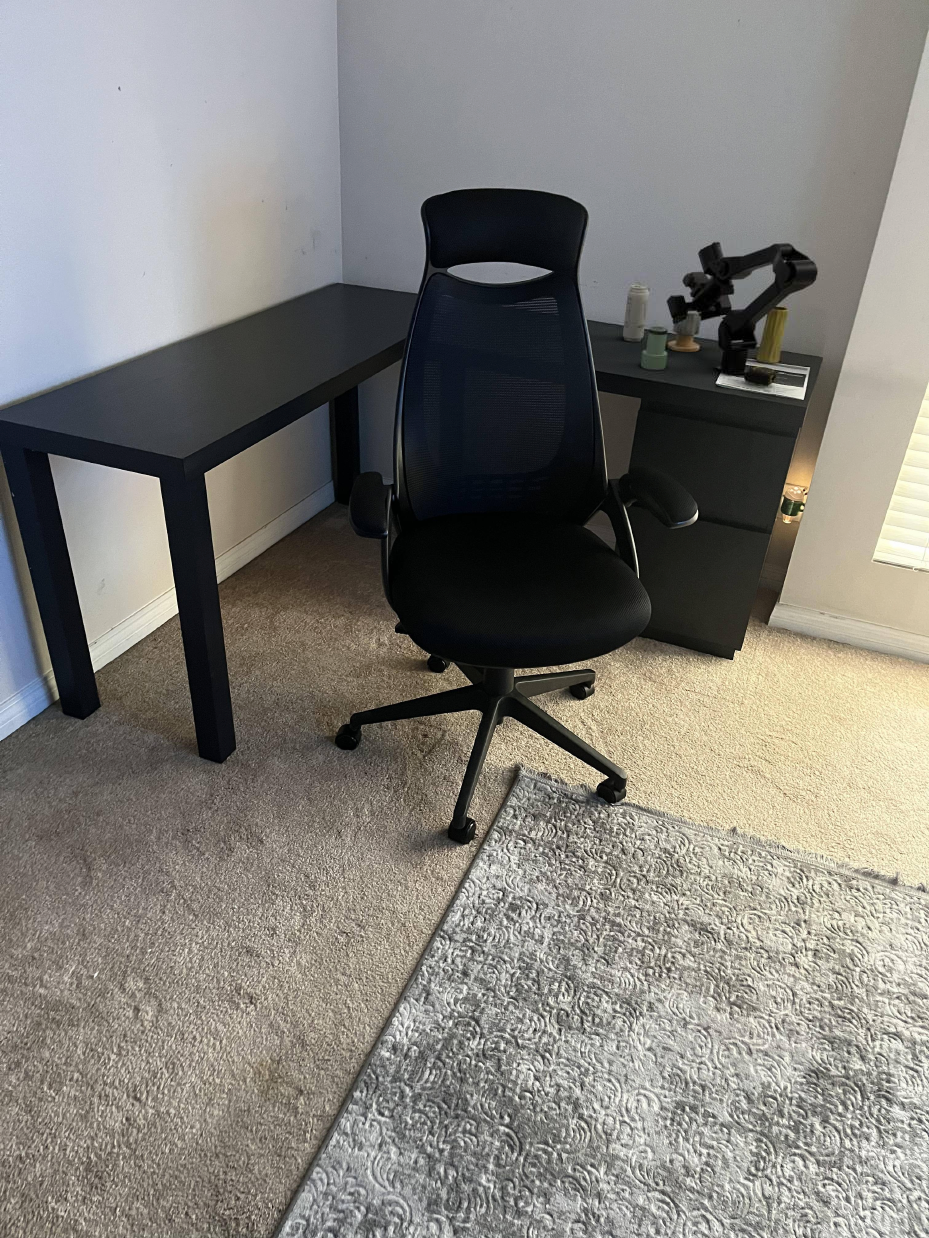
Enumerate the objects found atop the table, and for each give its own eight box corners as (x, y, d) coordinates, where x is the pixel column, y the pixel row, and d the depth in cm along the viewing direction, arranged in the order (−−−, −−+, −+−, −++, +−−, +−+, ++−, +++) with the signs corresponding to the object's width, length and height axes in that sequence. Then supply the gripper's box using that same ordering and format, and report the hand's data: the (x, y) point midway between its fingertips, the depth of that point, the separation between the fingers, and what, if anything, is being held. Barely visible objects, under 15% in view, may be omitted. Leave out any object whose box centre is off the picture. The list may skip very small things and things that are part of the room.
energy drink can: (641, 343, 258) (648, 289, 250) (620, 340, 260) (627, 287, 252) (644, 338, 263) (651, 285, 255) (624, 335, 264) (630, 283, 256)
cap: (703, 334, 251) (707, 312, 248) (681, 336, 249) (685, 314, 245) (689, 327, 257) (693, 306, 253) (668, 329, 254) (671, 308, 251)
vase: (774, 365, 242) (785, 311, 234) (752, 360, 245) (763, 308, 238) (782, 360, 246) (793, 307, 239) (761, 356, 249) (771, 304, 242)
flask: (670, 369, 237) (675, 331, 231) (648, 371, 235) (653, 333, 229) (657, 362, 242) (662, 325, 236) (636, 364, 240) (641, 326, 234)
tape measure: (741, 384, 227) (744, 369, 225) (752, 378, 231) (755, 364, 229) (766, 390, 223) (769, 375, 221) (777, 384, 228) (780, 369, 226)
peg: (705, 350, 253) (711, 315, 247) (678, 353, 250) (684, 317, 245) (688, 342, 260) (693, 307, 254) (661, 344, 257) (666, 309, 252)
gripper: (733, 262, 242) (704, 294, 257) (675, 265, 236) (648, 298, 251) (745, 298, 240) (715, 329, 255) (687, 302, 234) (659, 333, 249)
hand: (684, 321), depth 252 cm, fingers closed on cap, 7 cm apart
